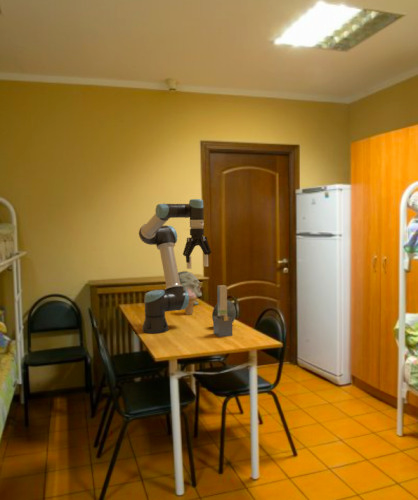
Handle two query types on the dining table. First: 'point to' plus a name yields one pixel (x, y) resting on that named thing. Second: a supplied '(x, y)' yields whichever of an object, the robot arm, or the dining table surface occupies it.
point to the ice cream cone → (190, 302)
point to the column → (222, 301)
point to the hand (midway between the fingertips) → (197, 267)
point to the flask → (230, 310)
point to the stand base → (222, 326)
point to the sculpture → (190, 283)
